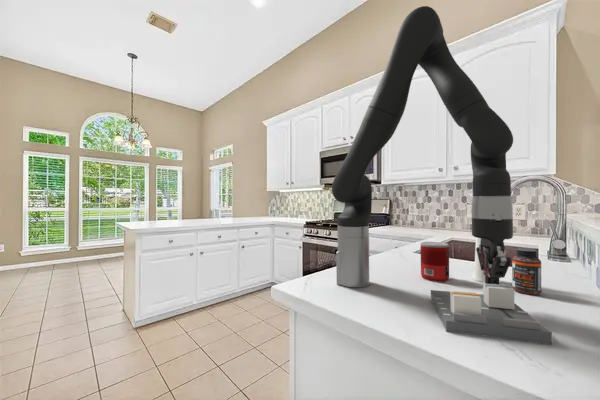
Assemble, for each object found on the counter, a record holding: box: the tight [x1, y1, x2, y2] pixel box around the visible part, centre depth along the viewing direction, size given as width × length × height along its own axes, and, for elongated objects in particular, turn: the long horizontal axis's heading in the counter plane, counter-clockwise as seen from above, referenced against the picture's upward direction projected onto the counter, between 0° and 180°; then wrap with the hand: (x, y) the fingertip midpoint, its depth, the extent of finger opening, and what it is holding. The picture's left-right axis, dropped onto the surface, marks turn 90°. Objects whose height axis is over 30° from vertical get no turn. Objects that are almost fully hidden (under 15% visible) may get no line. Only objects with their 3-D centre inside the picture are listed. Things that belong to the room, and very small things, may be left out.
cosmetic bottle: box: [471, 237, 486, 283], centre depth 82 cm, size 6×6×22 cm
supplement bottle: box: [511, 247, 542, 296], centre depth 71 cm, size 6×6×11 cm
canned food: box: [420, 241, 450, 283], centre depth 84 cm, size 8×8×11 cm
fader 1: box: [449, 290, 481, 315], centre depth 52 cm, size 5×3×4 cm, turn 72°
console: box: [430, 289, 553, 345], centre depth 56 cm, size 16×18×3 cm
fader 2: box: [483, 283, 515, 309], centre depth 57 cm, size 5×3×4 cm, turn 72°
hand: (492, 293), depth 60 cm, fingers closed
